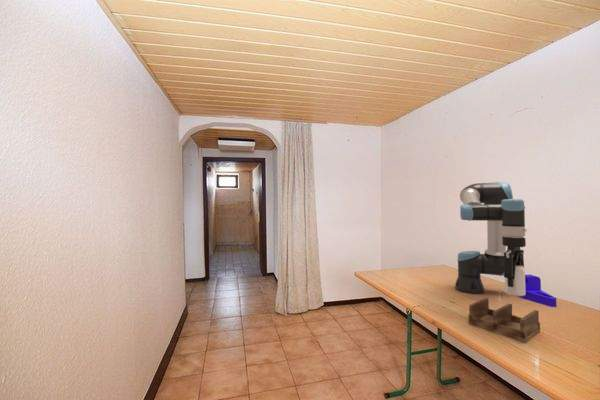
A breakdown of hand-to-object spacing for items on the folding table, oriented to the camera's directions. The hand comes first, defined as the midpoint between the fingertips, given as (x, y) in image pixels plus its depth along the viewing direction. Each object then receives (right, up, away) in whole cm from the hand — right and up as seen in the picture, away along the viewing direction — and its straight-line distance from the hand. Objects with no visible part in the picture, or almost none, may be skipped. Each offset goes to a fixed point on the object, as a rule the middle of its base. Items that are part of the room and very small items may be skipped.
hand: (515, 292), depth 110 cm
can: (0, -1, 0) cm, 1 cm away
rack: (-2, -16, +4) cm, 16 cm away
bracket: (+40, -16, +34) cm, 55 cm away
